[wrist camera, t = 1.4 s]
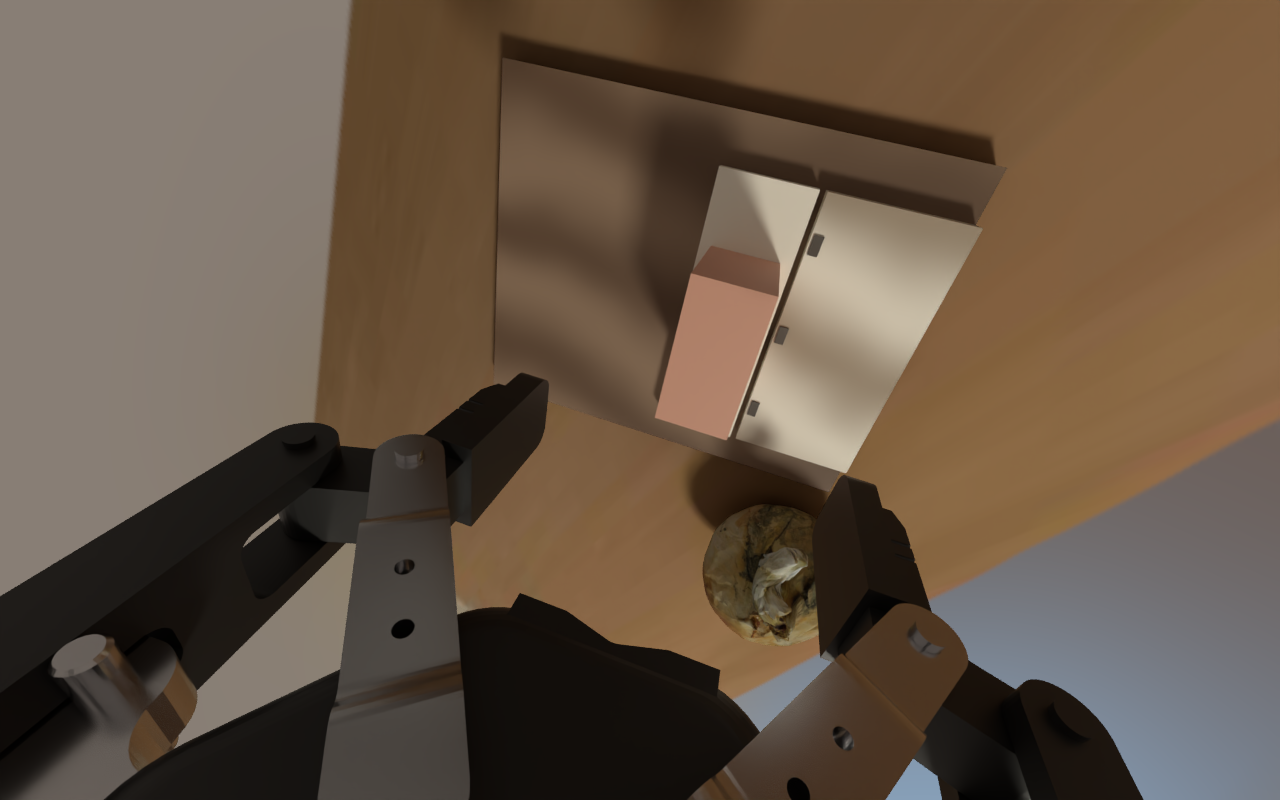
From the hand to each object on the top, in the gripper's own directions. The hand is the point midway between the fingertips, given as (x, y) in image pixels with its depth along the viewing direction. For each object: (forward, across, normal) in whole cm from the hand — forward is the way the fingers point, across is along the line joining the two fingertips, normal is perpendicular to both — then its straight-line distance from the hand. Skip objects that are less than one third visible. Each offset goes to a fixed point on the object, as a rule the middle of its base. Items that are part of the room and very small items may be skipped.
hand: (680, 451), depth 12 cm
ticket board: (+12, +2, 0) cm, 12 cm away
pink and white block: (+11, 0, 0) cm, 11 cm away
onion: (+13, -6, +12) cm, 19 cm away
